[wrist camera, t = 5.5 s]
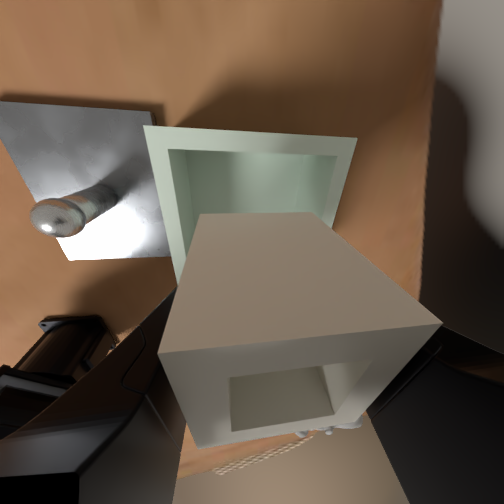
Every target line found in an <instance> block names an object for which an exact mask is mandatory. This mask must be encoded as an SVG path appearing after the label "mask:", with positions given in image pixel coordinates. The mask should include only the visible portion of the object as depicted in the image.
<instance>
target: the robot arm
mask: <svg viewBox="0 0 504 504" xmlns="http://www.w3.org/2000/svg"><path fill="white" fill-rule="evenodd" d="M177 287H178V286H177ZM177 287H176V288H175V289H174V290H173V291H172V292H171V293H170V294H169V295H168V296H167V297H166V298H165V299H164V300H163V301H162V302H161V303H160V304H159V305H158V306H157V307H156V308H155V309H154V310H153V311H152V312H151V313H150V314H149V315H148V316H147V317H146V318H145V319H144V320H143V321H142V322H141V323H140V326H137V327H136V328H135V329H134V330H133V331H132V332H131V333H130V334H129V335H128V336H127V337H126V338H125V339H124V340H123V341H122V342H121V343H120V344H119V345H118V346H117V347H116V343H115V341H114V339H113V338H112V336H111V334H110V332H109V331H108V329H107V327H106V325H105V324H104V322H103V320H102V318H101V317H99V316H85V317H72V318H59V319H45V320H42V321H41V322H40V323H39V324H38V325H39V326H40V327H41V329H42V330H43V331H44V332H45V333H44V334H43V335H42V337H41V338H40V339H39V340H38V341H37V342H36V343H35V344H34V345H33V346H32V348H31V349H30V350H29V351H28V352H27V353H26V354H25V355H24V356H23V357H22V358H21V360H20V361H19V362H18V363H17V364H16V365H15V366H14V367H13V368H11V367H10V366H8V365H4V364H3V365H2V366H1V367H0V504H172V501H173V495H174V489H175V484H176V478H177V472H178V467H179V461H180V455H181V454H180V452H181V449H182V444H183V438H184V432H185V427H186V420H185V418H184V415H183V413H182V411H181V408H180V406H179V403H178V401H177V399H176V396H175V394H174V392H173V389H172V387H171V385H170V382H169V380H168V377H167V375H166V373H165V370H164V368H163V366H162V363H161V361H160V359H159V356H158V354H157V353H158V350H159V346H160V343H161V340H162V337H163V333H164V330H165V327H166V323H167V320H168V317H169V314H170V310H171V307H172V304H173V301H174V297H175V294H176V291H177ZM115 347H116V348H115ZM112 349H114V350H112ZM109 350H112V351H111V352H110V353H109V354H108V355H107V353H108V352H109ZM106 355H107V356H106ZM366 412H367V414H368V416H369V418H370V419H371V423H372V425H373V427H374V429H375V431H376V433H377V435H378V437H379V439H380V441H381V444H382V446H383V448H384V450H385V452H386V454H387V456H388V459H389V461H390V463H391V465H392V467H393V469H394V471H395V473H396V476H397V477H398V480H399V482H400V484H401V486H402V488H403V490H404V493H405V495H406V497H407V499H408V501H409V503H410V504H504V354H502V353H500V352H497V351H495V350H493V349H491V348H489V347H486V346H484V345H482V344H480V343H478V342H476V341H474V340H472V339H469V338H467V337H465V336H463V335H461V334H459V333H457V332H455V331H453V330H450V329H448V328H446V327H444V326H442V325H441V326H440V327H439V328H438V329H437V330H436V332H435V333H434V334H433V335H432V336H431V337H430V338H429V339H428V341H427V342H426V343H425V344H424V345H423V346H422V347H421V348H420V350H419V351H418V352H417V353H416V354H415V355H414V356H413V357H412V358H411V360H410V361H409V362H408V363H407V364H406V365H405V366H404V367H403V369H402V370H401V371H400V372H399V373H398V374H397V375H396V376H395V378H394V379H393V380H392V381H391V382H390V383H389V384H388V385H387V387H386V388H385V389H384V390H383V391H382V392H381V393H380V394H379V396H378V397H377V398H376V399H375V400H374V401H373V402H372V403H371V405H370V406H369V407H368V408H367V409H366Z"/></svg>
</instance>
